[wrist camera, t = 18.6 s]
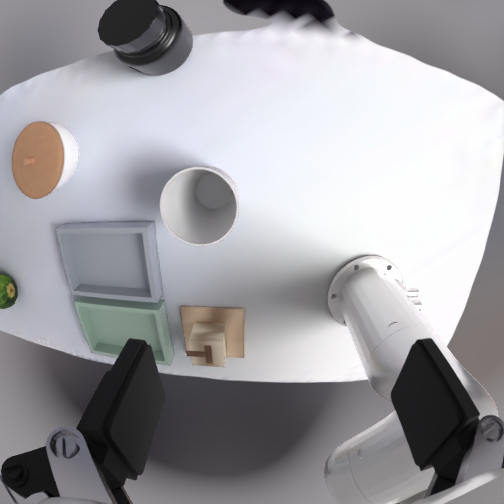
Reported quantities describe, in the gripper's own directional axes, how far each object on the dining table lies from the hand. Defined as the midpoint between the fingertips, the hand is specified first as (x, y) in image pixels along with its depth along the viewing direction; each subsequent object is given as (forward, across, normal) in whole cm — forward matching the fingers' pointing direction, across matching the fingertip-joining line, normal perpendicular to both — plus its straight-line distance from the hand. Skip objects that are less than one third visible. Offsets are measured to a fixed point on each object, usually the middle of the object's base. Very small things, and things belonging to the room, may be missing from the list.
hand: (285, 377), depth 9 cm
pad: (+30, +8, +22) cm, 38 cm away
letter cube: (+30, +8, +22) cm, 38 cm away
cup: (+31, +7, -1) cm, 31 cm away
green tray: (+30, +24, +22) cm, 44 cm away
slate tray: (+30, +24, +9) cm, 40 cm away
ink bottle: (+31, +14, -22) cm, 40 cm away
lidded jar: (+31, +31, -8) cm, 44 cm away
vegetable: (+31, +60, +17) cm, 70 cm away
